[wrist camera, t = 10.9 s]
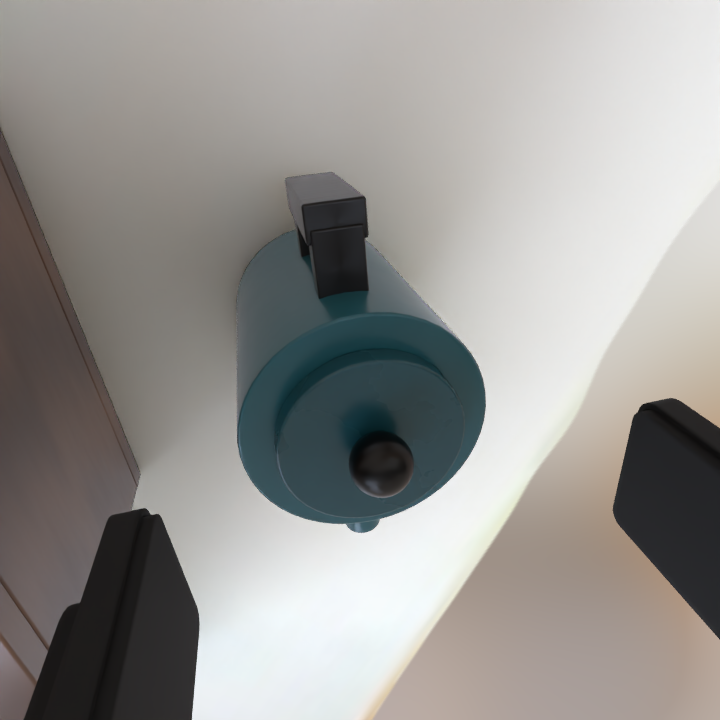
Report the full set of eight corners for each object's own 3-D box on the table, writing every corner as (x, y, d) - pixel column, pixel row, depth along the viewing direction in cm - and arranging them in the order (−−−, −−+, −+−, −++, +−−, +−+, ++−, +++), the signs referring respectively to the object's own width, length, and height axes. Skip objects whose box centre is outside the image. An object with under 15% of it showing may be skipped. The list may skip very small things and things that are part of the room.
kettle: (204, 174, 15) (167, 270, 7) (387, 152, 16) (551, 212, 8) (266, 445, 21) (288, 685, 12) (402, 417, 22) (508, 623, 13)
